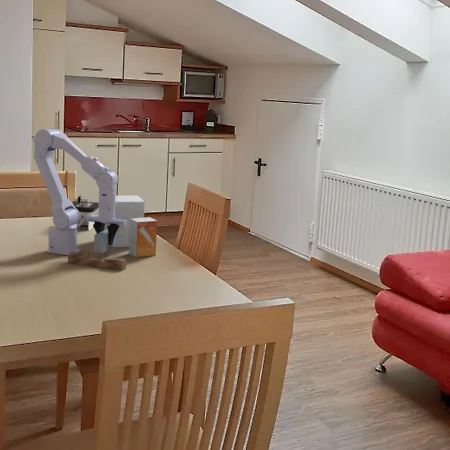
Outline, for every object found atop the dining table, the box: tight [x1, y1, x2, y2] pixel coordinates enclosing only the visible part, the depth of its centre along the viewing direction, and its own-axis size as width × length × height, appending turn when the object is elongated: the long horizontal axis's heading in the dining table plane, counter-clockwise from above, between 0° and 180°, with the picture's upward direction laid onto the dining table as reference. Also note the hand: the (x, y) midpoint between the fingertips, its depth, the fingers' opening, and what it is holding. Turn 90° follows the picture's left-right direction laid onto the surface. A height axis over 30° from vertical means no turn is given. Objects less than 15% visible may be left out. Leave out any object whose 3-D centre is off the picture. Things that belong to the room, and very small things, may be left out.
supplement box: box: [104, 195, 145, 248], centre depth 246 cm, size 13×13×18 cm
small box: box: [128, 216, 158, 258], centre depth 232 cm, size 8×6×13 cm
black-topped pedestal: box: [71, 194, 99, 231], centre depth 267 cm, size 28×26×13 cm
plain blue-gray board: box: [93, 229, 117, 254], centre depth 226 cm, size 3×12×6 cm, turn 165°
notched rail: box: [67, 252, 127, 271], centre depth 217 cm, size 20×3×3 cm, turn 74°
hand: (105, 243), depth 227 cm, fingers closed on plain blue-gray board, 3 cm apart
